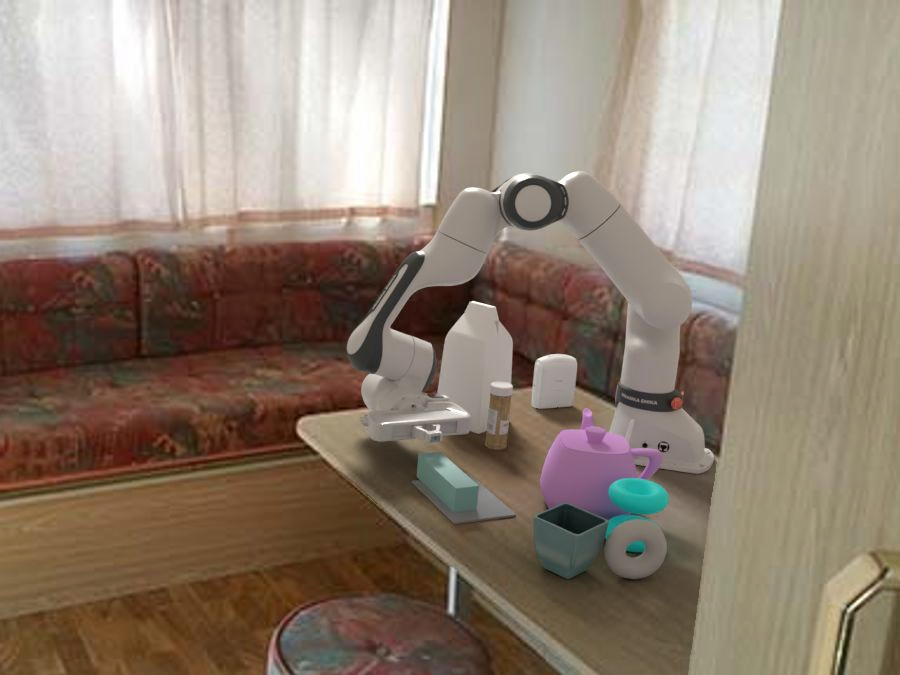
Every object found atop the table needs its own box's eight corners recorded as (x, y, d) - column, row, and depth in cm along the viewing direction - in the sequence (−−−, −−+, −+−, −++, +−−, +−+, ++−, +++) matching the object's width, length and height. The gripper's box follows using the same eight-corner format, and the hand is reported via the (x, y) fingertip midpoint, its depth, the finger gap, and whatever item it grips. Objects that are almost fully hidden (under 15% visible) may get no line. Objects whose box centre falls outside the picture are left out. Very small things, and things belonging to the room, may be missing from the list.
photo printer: (536, 410, 242) (542, 358, 238) (527, 404, 245) (533, 352, 242) (575, 407, 246) (581, 356, 243) (566, 401, 250) (572, 351, 246)
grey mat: (411, 482, 196) (412, 480, 196) (470, 476, 201) (470, 474, 201) (454, 524, 181) (454, 522, 181) (515, 516, 186) (516, 514, 186)
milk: (433, 418, 231) (443, 302, 224) (465, 407, 240) (475, 294, 233) (478, 433, 224) (490, 314, 217) (509, 421, 233) (521, 306, 226)
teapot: (661, 533, 184) (674, 452, 180) (540, 522, 184) (549, 441, 180) (643, 482, 206) (654, 408, 202) (534, 471, 206) (543, 398, 202)
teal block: (418, 454, 197) (455, 488, 183) (440, 451, 199) (479, 485, 185) (416, 476, 198) (453, 512, 184) (438, 474, 200) (476, 509, 186)
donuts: (655, 505, 171) (599, 487, 176) (647, 561, 174) (592, 542, 179) (679, 486, 179) (624, 470, 184) (670, 541, 182) (617, 523, 187)
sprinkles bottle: (508, 451, 216) (515, 388, 212) (486, 450, 215) (492, 387, 212) (504, 442, 220) (510, 380, 217) (482, 442, 219) (488, 380, 216)
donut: (603, 583, 165) (611, 524, 162) (597, 572, 168) (605, 514, 166) (665, 583, 167) (674, 525, 164) (658, 573, 170) (667, 515, 167)
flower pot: (603, 571, 169) (610, 520, 166) (571, 589, 162) (578, 535, 160) (559, 551, 174) (565, 501, 172) (526, 568, 168) (532, 515, 165)
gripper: (356, 401, 202) (384, 426, 190) (453, 394, 211) (485, 418, 199) (354, 432, 204) (381, 459, 192) (451, 424, 213) (482, 449, 201)
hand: (435, 438), depth 195 cm, fingers closed
